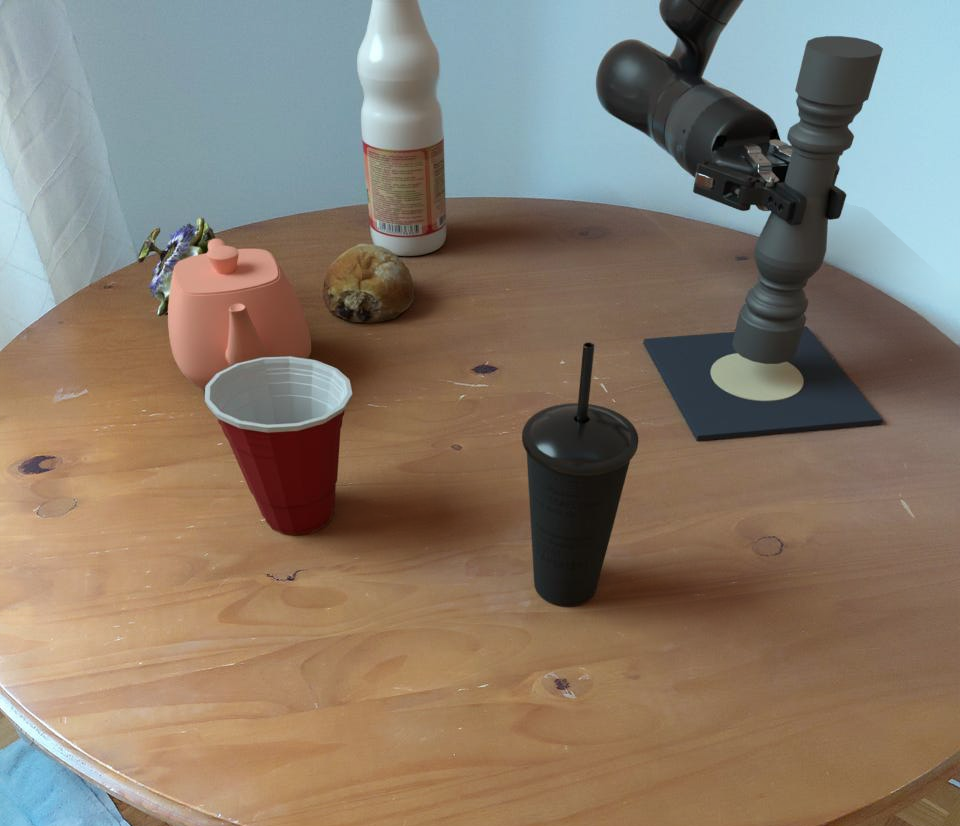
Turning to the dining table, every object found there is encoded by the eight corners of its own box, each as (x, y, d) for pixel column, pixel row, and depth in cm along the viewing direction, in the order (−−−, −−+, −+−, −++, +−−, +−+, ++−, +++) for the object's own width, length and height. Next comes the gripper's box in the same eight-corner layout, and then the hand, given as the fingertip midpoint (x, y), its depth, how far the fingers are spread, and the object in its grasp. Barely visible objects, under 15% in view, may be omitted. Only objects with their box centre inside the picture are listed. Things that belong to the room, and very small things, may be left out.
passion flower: (183, 357, 102) (138, 251, 99) (272, 326, 103) (230, 220, 100) (165, 347, 91) (114, 227, 88) (265, 312, 92) (218, 192, 89)
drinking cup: (543, 632, 65) (562, 389, 50) (499, 568, 70) (505, 329, 55) (634, 602, 67) (677, 361, 52) (585, 542, 72) (612, 305, 57)
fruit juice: (393, 264, 107) (372, -22, 86) (358, 236, 112) (330, -39, 92) (460, 246, 110) (456, -33, 89) (423, 220, 115) (410, -49, 95)
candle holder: (799, 367, 84) (891, 61, 65) (732, 360, 84) (805, 55, 66) (795, 334, 88) (881, 37, 69) (731, 328, 88) (800, 33, 70)
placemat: (805, 331, 95) (807, 325, 95) (881, 424, 83) (883, 418, 83) (643, 343, 94) (643, 337, 93) (696, 441, 81) (697, 434, 81)
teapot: (192, 441, 82) (157, 315, 73) (171, 338, 94) (139, 221, 86) (335, 415, 84) (317, 291, 76) (296, 318, 97) (277, 203, 88)
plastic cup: (393, 512, 74) (381, 384, 66) (289, 574, 69) (261, 444, 60) (313, 458, 80) (292, 333, 71) (210, 512, 74) (174, 385, 66)
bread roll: (422, 339, 101) (442, 266, 98) (357, 332, 94) (376, 253, 90) (365, 310, 106) (381, 240, 103) (298, 301, 98) (313, 225, 95)
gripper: (658, 103, 80) (756, 172, 69) (793, 88, 84) (908, 152, 72) (646, 190, 86) (735, 266, 75) (773, 172, 89) (877, 244, 78)
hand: (819, 210), depth 74 cm, fingers closed on candle holder, 3 cm apart
